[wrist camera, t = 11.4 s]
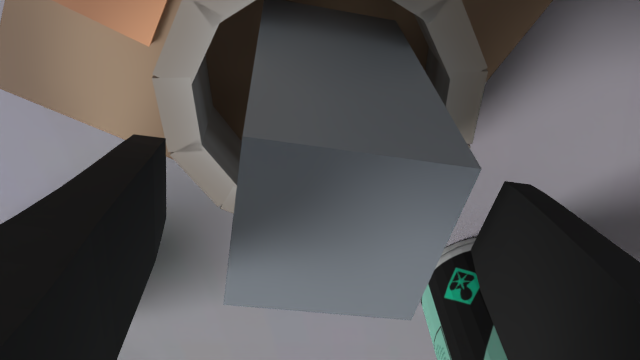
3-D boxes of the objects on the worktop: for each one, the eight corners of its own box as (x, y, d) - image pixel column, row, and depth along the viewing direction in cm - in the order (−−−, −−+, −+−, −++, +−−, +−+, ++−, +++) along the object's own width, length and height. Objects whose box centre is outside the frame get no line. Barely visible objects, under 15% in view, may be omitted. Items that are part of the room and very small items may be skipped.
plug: (395, 20, 14) (481, 169, 8) (364, 133, 17) (410, 320, 10) (264, -4, 14) (242, 136, 7) (250, 117, 16) (223, 304, 10)
